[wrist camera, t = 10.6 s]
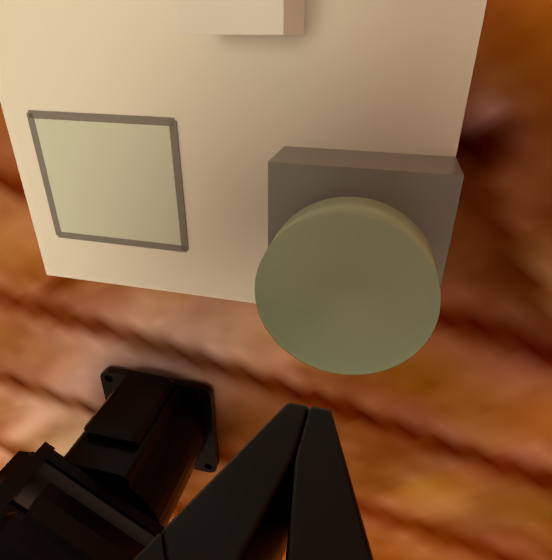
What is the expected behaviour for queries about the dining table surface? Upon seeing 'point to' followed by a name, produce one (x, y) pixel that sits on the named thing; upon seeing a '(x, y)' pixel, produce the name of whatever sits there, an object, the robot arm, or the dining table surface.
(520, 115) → the dining table surface
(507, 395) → the dining table surface
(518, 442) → the dining table surface
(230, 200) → the picture board
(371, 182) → the button housing
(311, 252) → the button
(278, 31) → the marker
